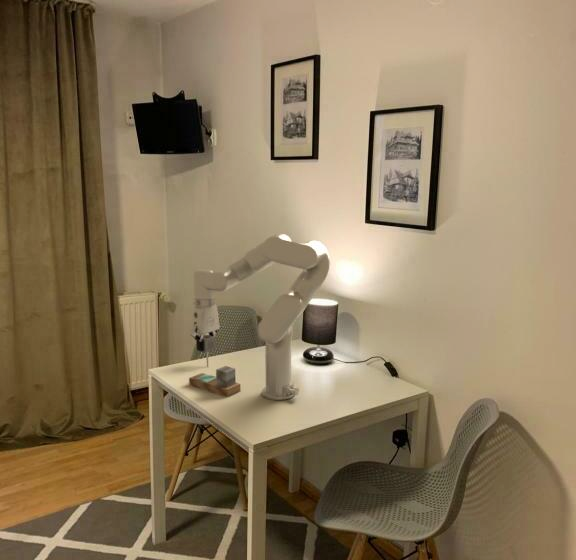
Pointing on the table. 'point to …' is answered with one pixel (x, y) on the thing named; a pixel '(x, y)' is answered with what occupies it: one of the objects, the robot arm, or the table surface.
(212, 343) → the dice cube
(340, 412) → the table surface
